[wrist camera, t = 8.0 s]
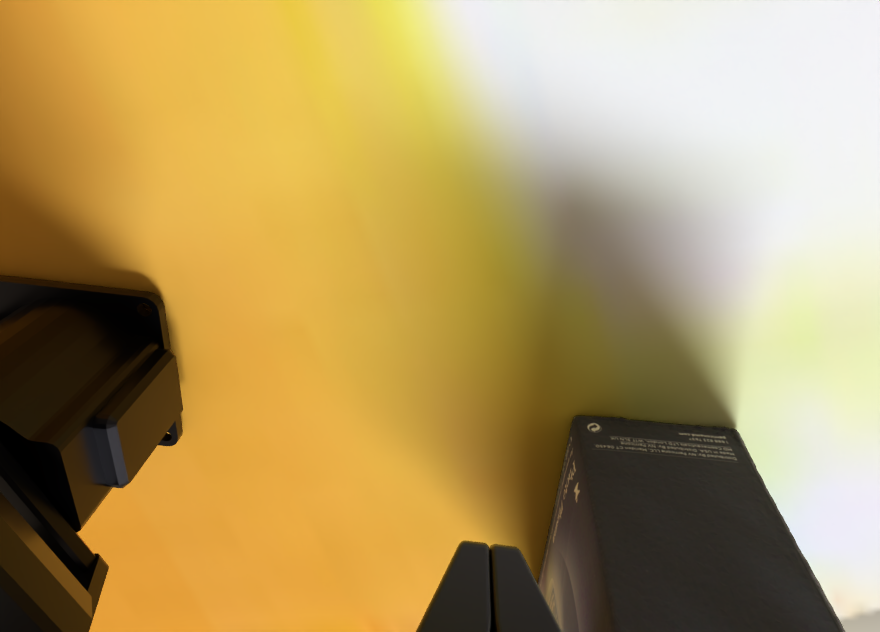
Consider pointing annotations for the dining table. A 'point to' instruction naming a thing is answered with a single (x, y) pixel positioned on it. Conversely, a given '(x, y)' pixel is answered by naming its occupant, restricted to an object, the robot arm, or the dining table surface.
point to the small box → (672, 537)
